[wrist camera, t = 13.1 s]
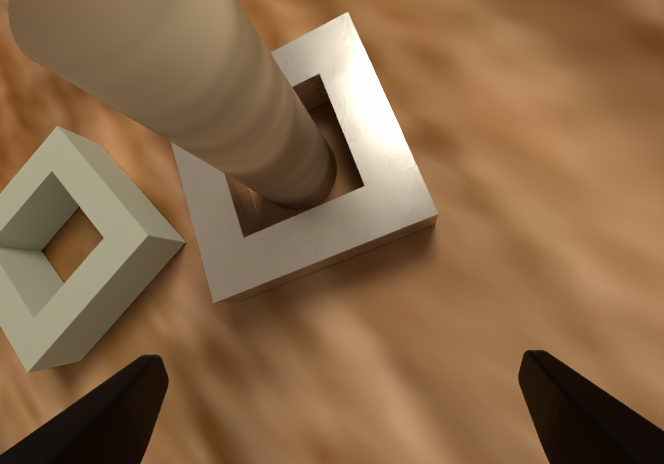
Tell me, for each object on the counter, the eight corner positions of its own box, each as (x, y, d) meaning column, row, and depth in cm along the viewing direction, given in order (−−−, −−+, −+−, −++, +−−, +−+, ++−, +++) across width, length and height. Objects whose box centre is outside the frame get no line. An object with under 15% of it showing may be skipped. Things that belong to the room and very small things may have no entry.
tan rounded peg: (348, 190, 19) (208, -2, 6) (275, 221, 19) (21, 105, 7) (321, 121, 20) (156, -162, 7) (253, 153, 20) (-2, -53, 8)
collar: (185, 242, 21) (148, 235, 18) (80, 361, 21) (27, 372, 18) (101, 145, 23) (57, 125, 21) (10, 252, 24) (-46, 247, 21)
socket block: (435, 224, 17) (438, 213, 15) (238, 301, 19) (213, 303, 17) (356, 45, 20) (347, 11, 18) (190, 128, 22) (162, 109, 19)
